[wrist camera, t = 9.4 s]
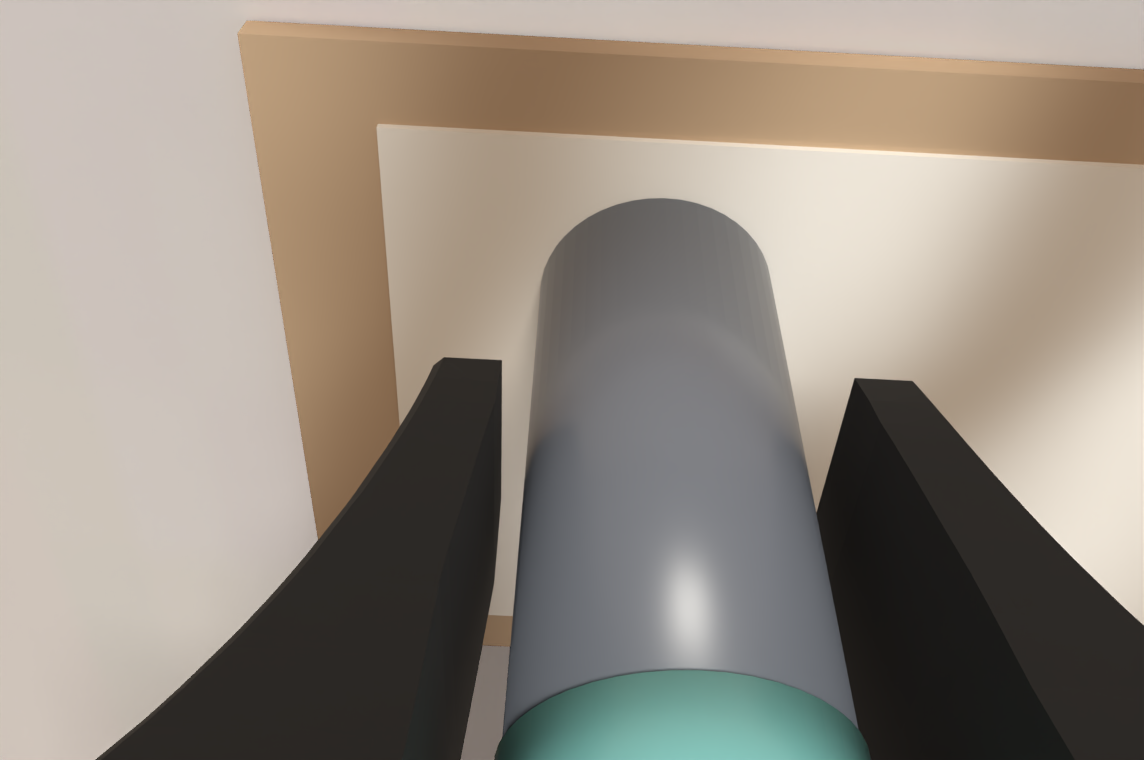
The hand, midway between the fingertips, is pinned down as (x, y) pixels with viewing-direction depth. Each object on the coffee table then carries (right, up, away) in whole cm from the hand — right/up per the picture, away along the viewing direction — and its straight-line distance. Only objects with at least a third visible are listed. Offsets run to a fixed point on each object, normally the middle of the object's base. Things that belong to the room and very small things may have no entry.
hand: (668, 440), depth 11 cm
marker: (0, +2, +2) cm, 3 cm away
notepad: (+4, 0, +4) cm, 6 cm away
